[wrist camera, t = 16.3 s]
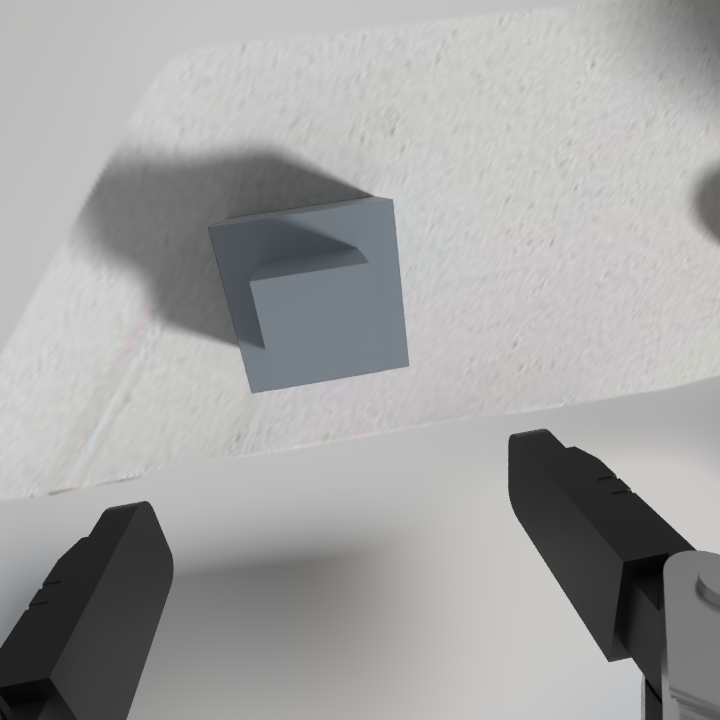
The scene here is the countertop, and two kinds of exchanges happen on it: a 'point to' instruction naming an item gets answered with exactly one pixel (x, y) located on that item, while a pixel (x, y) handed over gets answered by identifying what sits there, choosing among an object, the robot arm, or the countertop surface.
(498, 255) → the countertop surface
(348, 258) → the gray stepped step block
